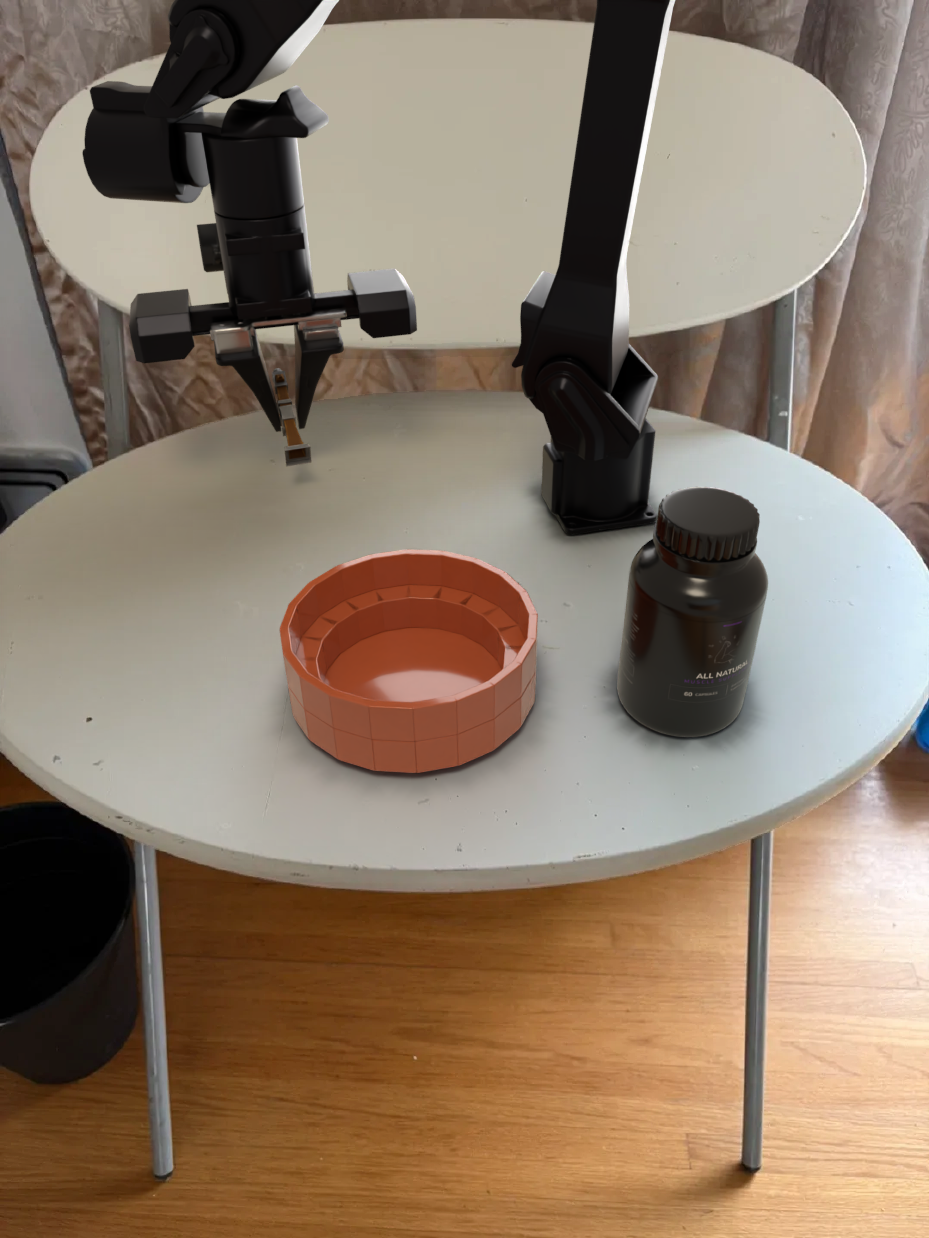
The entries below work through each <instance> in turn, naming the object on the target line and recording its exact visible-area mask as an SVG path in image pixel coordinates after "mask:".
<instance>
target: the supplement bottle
mask: <svg viewBox="0 0 929 1238" xmlns="http://www.w3.org/2000/svg"><path fill="white" fill-rule="evenodd" d="M760 516H761V515H760V513H759V511H758V508H757V507H756V506H755V504H754V503H752V502H751V501H750V500H749V499H748V498H745V497H743V495H742V494H737V493H736V492H734V491H730V490H727V489H724V488H718V487H710V486H693V487H690V486H687V487H685V488H678V489H677V490H672V491H671V492H670V493H668V494H666V495H665V497H663V498H661V502H659V504H658V509H657V520H656V522H655V523H654V527H653V534H652V538H651V539H649V540H648V541H646V542H645V543H644V544H643V545H642V546H641V547H640V548H639V549H638V551H637V552H636V553H635V554H634V557H633V558H632V561H631V564H630V568H629V574H628V575H629V576H628V583H627V592H626V600H625V608H624V618H623V625H622V626H623V627H622V635H621V642H620V651H619V661H618V671H617V679H616V680H617V681H616V688H617V689H616V691H617V695H618V698H619V701H620V703H621V705H622V706H623V708H624V709H625V711H626V712H627V713H628V714H629V715H630V716H631V717H632V718H633V719H634V720H635V721H636V722H638V723H639V724H641V725H643V727H646V728H648V729H649V730H651V731H653V732H654V731H655V732H657V733H660V734H663V735H667V736H672V737H680V738H700V737H705V736H708V735H712V734H715V733H717V732H719V731H721V730H724V729H725V728H727V727H728V726H730V725H731V724H732V723H733V722H734V721H735V720H736V719H737V718H738V716H739V714H740V712H741V711H742V708H743V705H744V701H745V697H746V692H747V688H748V685H749V679H750V675H751V671H752V670H751V669H752V666H753V661H754V656H755V651H756V647H757V642H758V637H759V633H760V628H761V624H762V619H763V616H764V615H763V614H764V609H765V605H766V600H767V595H768V590H769V589H768V588H769V576H768V572H767V569H766V566H765V565H764V563H763V561H762V559H761V558H760V557H759V556H758V554H757V553H756V550H757V547H758V546H757V545H758V534H759V529H760V523H761V522H760V518H761V517H760Z"/></svg>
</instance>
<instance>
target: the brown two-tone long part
mask: <svg viewBox="0 0 929 1238" xmlns="http://www.w3.org/2000/svg"><path fill="white" fill-rule="evenodd" d="M271 376H272V377H271V378H272V383H273V387H274V395H276V402H277V406H278V412H279V417H280V424H281V432H282V437H285V438H286V441H287V446H284V447H283V448H284V459H285V460H284V461H285V467H286V468H289V467H294V466H299V465H300V466H301V465H305V464H311V463H312V452H311V451H312V450H311V446H310V443H309V442H307V443H304V442H303V440H302V438H301V435H300V433H299V431H298V430H299V429H298V428H297V420H296V419H297V417H296V416H295V412H294V406H293V405H294V404H293V401H292V398H290V397H289V384H288V382H287V377H286V370H282V369H281V368H279V367H278V368H277V367H276V368H274V369H273V371H271Z"/></svg>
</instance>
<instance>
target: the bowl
mask: <svg viewBox="0 0 929 1238" xmlns="http://www.w3.org/2000/svg"><path fill="white" fill-rule="evenodd" d="M538 625H539V613H538V612H537V610H536V607H535V605H534V603H533V601H532V598H531V597H530V594H529V592H528V591H527V589H526V588H525V587H523V586H522V585H521V584H520V583H519V582H518V581H517V580H515V579H514V578H513V577H512V576H511V575H510V574H509V573H508V572H506V571H505V570H502V569H501V568H498V567H496V566H494V565H492V564H490V563H489V562H485V561H484V560H482V559H479V558H477V557H473V556H468V555H465V554H460V553H456V552H451V551H447V550H441V549H439V550H438V549H436V550H435V549H412V548H406V549H398V550H391V551H384V552H377V553H371V554H367V555H364V556H361V557H358V558H355V559H352V560H348V561H346V562H343V563H341V564H337V565H335V566H333V567H332V568H330V569H328V570H327V571H324V572H323V573H322V574H320V575H319V576H317V577H314V579H312V580H310V581H309V582H307V583H306V584H305V586H304V587H303V588H302V589H301V590H300V591H299V592H298V593H297V595H296V596H294V598H292V600H290V601H289V603H288V604H287V608H286V610H285V612H284V615H283V618H282V620H281V623H280V626H279V637H280V644H281V651H282V657H283V664H284V670H285V676H286V682H287V686H288V695H289V700H290V707H291V713H292V717H293V719H294V720H295V722H296V724H298V726H299V728H300V729H301V730H302V731H303V734H304V735H305V736H306V738H307V739H308V741H310V742H311V743H312V744H314V745H315V746H317V747H319V748H320V749H322V750H323V751H324V752H326V753H327V754H329V755H331V756H332V757H333V758H335V759H337V760H338V761H341V762H345V763H347V764H351V765H354V766H356V767H361V768H364V769H367V770H370V771H374V772H375V771H376V772H391V773H406V774H409V773H410V774H416V773H417V774H419V773H425V772H431V771H436V770H442V769H443V770H444V769H448V768H453V767H459V766H462V765H464V764H466V763H469V762H471V761H473V760H476V759H478V758H480V757H482V756H484V755H486V754H490V753H491V752H494V751H495V750H496V749H497V748H499V747H500V746H501V745H502V744H503V743H504V742H506V741H507V740H508V739H510V737H512V736H513V735H514V734H515V733H516V732H517V731H519V730H520V729H521V727H522V725H523V724H524V722H525V721H526V718H527V716H528V715H529V713H530V711H531V710H532V707H533V706H534V704H535V702H536V688H537V687H536V685H537V684H536V683H537V662H538V661H537V660H538V631H539V630H538V629H539V628H538V627H539V626H538Z"/></svg>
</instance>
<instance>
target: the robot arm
mask: <svg viewBox="0 0 929 1238" xmlns="http://www.w3.org/2000/svg"><path fill="white" fill-rule="evenodd" d="M339 1H340V0H173V2H172V3H171V6H170V8H169V11H168V13H167V22H168V23H169V26H168V27H169V29H168V30H169V31H168V32H169V33H168V34H169V35H168V36H169V42H170V43H169V47H168V48H167V51H166V53H165V56H164V57H163V60H162V61H161V62H162V63H161V64H160V67H159V70H158V72H157V74H156V76H155V78H154V81H153V83H152V85H135V84H132V83H128V82H126V81H120V80H119V81H116V80H114V81H113V80H107V81H105V82H101V83H99V84H96V85H94V86H91V87H90V89H89V96H90V99H91V103H92V104H91V105H92V109H91V111H90V113H89V115H88V117H87V121H86V125H85V129H84V140H83V141H84V148H83V149H82V152H81V153H82V159H83V164H84V167H85V170H86V173H87V176H88V178H89V180H90V182H91V184H92V185H93V187H94V188H95V189H96V191H97V192H98V193H99V194H101V195H102V196H103V197H104V198H108V199H113V200H115V199H116V200H129V201H130V200H132V201H143V202H145V201H146V202H162V203H175V204H176V203H177V204H191V203H194V202H196V200H198V198H199V197H200V196H201V194H202V192H203V189H204V188H206V187H208V186H209V188H210V193H211V200H212V205H213V213H214V218H215V222H212V223H211V222H210V223H200V224H199V223H198V224H196V230H197V236H198V243H199V250H200V256H201V261H202V268H203V271H204V272H205V273H216V272H223V275H224V281H225V289H226V294H227V298H228V301H226V302H216V303H205V304H196V305H192V300H191V295H190V292H189V289H188V288H181V289H172V290H163V291H162V290H161V291H153V292H141V293H137V294H136V295H135V297H134V298H133V299H132V301H131V303H130V309H129V321H128V328H129V335H130V340H131V346H132V349H133V354H134V358H135V362H138V363H141V364H153V363H154V364H155V363H162V362H171V361H180V360H185V359H186V358H187V357H188V356H189V354H191V352H192V351H193V349H194V348H195V339H194V338H195V337H197V336H206V335H209V336H210V339H211V341H212V342H213V345H214V346H213V347H214V357H215V361H216V362H215V363H216V365H218V366H220V367H232V369H234V370H235V372H236V373H237V374H238V375H239V377H240V378H241V379H242V380H243V381H244V383H245V385H247V386H248V388H249V389H250V390H251V392H252V393H253V395H254V396H255V398H256V400H257V402H258V403H259V405H260V407H261V408H262V410H263V412H264V414H265V416H266V417H267V419H268V421H269V422H270V424H271V426H272V428H273V429H274V432H276V433H281V432H282V426H281V424H280V417H279V412H278V406H277V401H276V400H277V398H276V395H275V391H274V389H273V386H272V382H271V378H270V375H269V372H268V369H267V365H266V361H265V358H264V355H263V351H262V347H261V343H260V340H259V339H260V338H259V336H258V332H257V330H263V329H271V328H280V327H290V326H293V335H294V336H293V337H294V338H293V339H294V403H295V404H294V405H295V413H296V419H297V420H296V421H297V425H298V426H297V427H298V430H304V429H305V428H306V425H307V421H308V418H309V414H310V410H311V407H312V404H313V399H314V396H315V393H316V389H317V387H318V384H319V382H320V379H321V377H322V374H323V372H324V370H325V368H326V366H327V364H328V362H329V360H330V357H331V356H332V355H337V354H342V353H343V352H344V351H345V345H344V341H343V337H342V334H341V331H340V328H342V321H348V320H356V319H358V323H359V327H360V329H361V330H362V331H363V332H364V333H365V334H367V335H368V336H369V337H371V338H372V339H381V338H389V337H391V338H392V337H399V336H400V337H401V336H409V335H413V333H415V332H417V331H418V322H417V319H418V318H417V306H416V300H415V295H414V293H413V291H412V289H411V288H410V285H409V284H408V282H407V280H406V278H405V276H404V275H403V274H402V273H401V272H400V271H399V270H397V269H396V268H385V269H384V268H383V269H375V270H373V269H372V270H366V271H364V270H363V271H357V272H356V271H354V272H347V275H346V276H347V277H346V283H347V284H346V285H347V289H343V290H335V291H334V290H333V291H325V292H324V291H323V292H315V285H314V278H313V270H312V262H311V261H312V259H311V251H310V243H309V233H308V225H307V216H306V207H305V199H304V189H303V188H304V187H303V179H302V171H301V162H300V153H299V144H298V143H299V142H298V139H306V138H308V137H309V136H312V135H313V134H314V133H316V132H318V131H319V130H321V129H322V128H324V127H326V126H327V125H328V124H329V121H330V118H329V115H328V114H327V112H325V111H324V110H323V109H322V108H321V107H320V106H319V105H317V104H316V103H314V102H313V101H312V100H310V98H309V97H307V95H305V93H304V91H303V90H302V88H301V87H300V86H299V85H294V86H291V87H289V88H288V89H286V90H283V91H282V92H280V94H279V96H278V98H277V99H257V98H239V99H236V100H234V101H233V102H232V103H231V104H230V105H229V107H228V109H227V110H226V112H211V111H204V107H205V106H207V105H209V104H212V103H213V102H216V101H218V100H219V99H222V100H228V99H232V98H235V97H237V96H239V95H241V94H244V93H245V92H247V91H249V90H252V89H254V88H256V87H258V86H260V85H263V84H265V83H266V82H269V81H270V80H273V79H275V78H277V77H279V76H281V75H284V74H285V73H286V72H287V71H288V70H289V69H290V68H291V67H292V66H293V64H294V63H295V62H296V60H297V59H298V58H299V57H300V55H302V53H303V52H304V51H305V49H306V48H307V47H308V45H310V43H311V42H312V41H313V39H314V38H316V36H317V35H318V33H319V32H320V31H321V29H322V28H323V26H324V24H325V22H326V20H327V19H328V17H329V16H330V14H331V12H332V11H333V9H334V7H335V6H336V5H337V4H338V3H339ZM675 2H676V0H596V9H595V15H594V21H593V22H594V23H593V28H592V35H591V42H590V50H589V56H588V63H587V68H586V69H587V70H586V77H585V84H584V89H583V90H584V91H583V99H582V104H581V110H580V118H579V123H578V124H579V125H578V130H577V131H578V132H577V139H576V145H575V150H574V151H575V152H574V158H573V164H572V165H573V166H572V172H571V177H570V178H571V179H570V186H569V191H568V192H569V194H568V199H567V207H566V213H565V220H564V227H563V234H562V240H561V248H560V254H559V261H558V266H557V268H556V272H555V274H554V273H552V272H549V271H546V270H542V271H541V272H540V274H539V276H538V277H537V279H536V280H535V282H534V283H533V285H532V286H531V288H530V290H529V291H528V293H527V294H526V295H525V298H524V299H523V301H522V302H521V304H520V313H519V315H520V317H519V321H520V322H519V323H520V325H519V326H520V343H519V348H518V351H517V354H516V356H515V358H514V359H513V360H512V362H511V367H512V368H514V369H517V368H520V367H522V368H521V373H520V379H521V388H522V392H523V395H524V397H525V398H527V399H528V400H529V401H530V402H531V404H532V405H533V407H534V408H535V409H536V410H538V411H539V412H541V413H542V415H543V417H544V421H545V424H546V426H547V429H548V432H549V435H550V442H545V443H544V445H543V446H542V461H541V462H542V465H541V467H542V468H541V486H540V489H541V497H542V498H543V500H544V502H545V504H546V507H548V509H549V511H550V513H551V514H553V515H554V516H555V518H556V520H557V521H558V523H559V524H560V526H561V528H562V530H563V531H564V533H565V534H568V535H578V534H586V533H593V532H599V531H605V530H607V531H608V530H612V529H622V528H628V527H637V526H641V525H642V526H643V525H648V524H649V525H650V524H655V523H656V522H657V516H658V512H656V511H655V509H654V507H653V506H652V505H651V503H650V502H649V499H650V488H651V477H652V468H653V461H654V460H653V459H654V451H655V441H656V431H657V430H656V429H655V428H654V426H653V425H652V424H651V423H650V421H649V420H648V418H647V416H648V415H647V414H648V413H649V408H650V405H651V402H652V399H653V396H654V394H655V390H656V388H657V384H658V381H659V376H658V374H657V373H656V372H655V371H654V370H653V368H652V367H651V366H650V365H649V364H648V363H647V362H646V361H645V359H644V358H643V357H642V356H641V355H640V354H639V353H638V352H637V350H636V349H635V348H634V347H633V346H632V345H631V344H630V292H629V284H628V283H629V282H628V273H627V256H628V250H629V244H630V240H631V235H632V234H631V233H632V229H633V225H634V224H633V223H634V218H635V213H636V208H637V203H638V196H639V191H640V186H641V181H642V176H643V170H644V164H645V159H646V154H647V149H648V143H649V137H650V133H651V126H652V124H653V123H652V122H653V116H654V111H655V106H656V101H657V96H658V91H659V85H660V79H661V74H662V68H663V63H664V58H665V53H666V48H667V42H668V37H669V32H670V26H671V21H672V15H673V10H674V6H675Z"/></svg>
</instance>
